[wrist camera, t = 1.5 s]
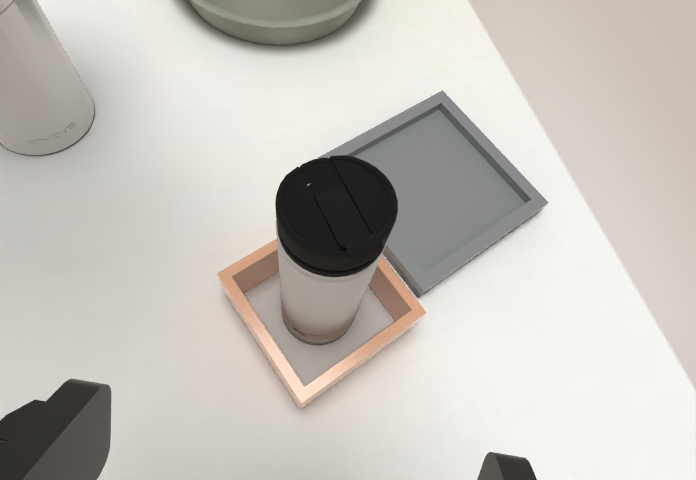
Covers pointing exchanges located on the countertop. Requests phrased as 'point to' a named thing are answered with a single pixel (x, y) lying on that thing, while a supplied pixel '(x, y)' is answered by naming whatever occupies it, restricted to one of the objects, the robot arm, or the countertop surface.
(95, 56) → the countertop surface
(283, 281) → the travel mug
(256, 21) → the cake pan
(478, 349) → the countertop surface
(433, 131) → the tray
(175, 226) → the countertop surface
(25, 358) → the countertop surface
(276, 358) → the holder
